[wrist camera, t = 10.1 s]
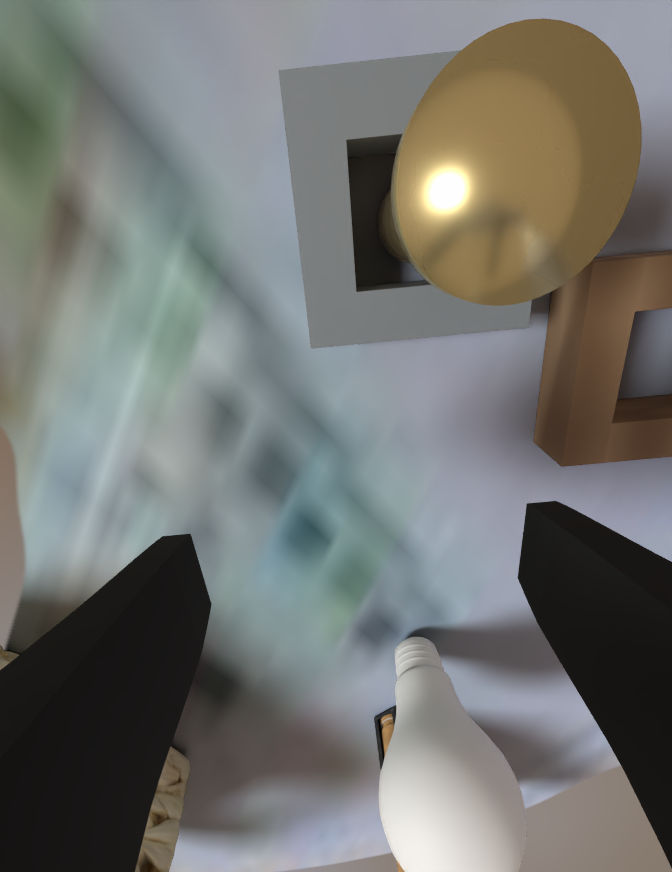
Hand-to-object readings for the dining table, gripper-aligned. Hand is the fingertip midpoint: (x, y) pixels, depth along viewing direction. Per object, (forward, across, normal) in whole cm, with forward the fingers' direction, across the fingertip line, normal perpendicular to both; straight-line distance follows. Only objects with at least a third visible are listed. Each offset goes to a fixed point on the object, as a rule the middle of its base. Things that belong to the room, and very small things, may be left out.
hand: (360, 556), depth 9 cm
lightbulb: (+11, -3, +16) cm, 19 cm away
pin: (+10, -4, -7) cm, 13 cm away
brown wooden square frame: (+10, -13, -1) cm, 17 cm away
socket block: (+10, -3, -7) cm, 13 cm away
